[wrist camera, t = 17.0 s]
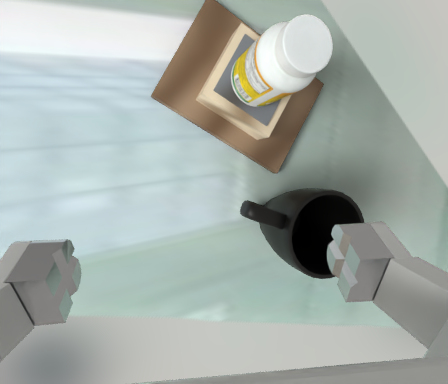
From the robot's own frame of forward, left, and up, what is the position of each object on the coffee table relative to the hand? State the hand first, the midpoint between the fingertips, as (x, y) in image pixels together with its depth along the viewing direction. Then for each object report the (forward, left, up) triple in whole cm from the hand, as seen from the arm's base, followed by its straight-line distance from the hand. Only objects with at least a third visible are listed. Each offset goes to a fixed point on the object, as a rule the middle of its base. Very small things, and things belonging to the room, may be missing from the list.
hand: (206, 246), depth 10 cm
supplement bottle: (+3, +15, -20) cm, 25 cm away
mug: (+13, +4, -24) cm, 28 cm away
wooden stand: (+3, +15, -24) cm, 29 cm away
